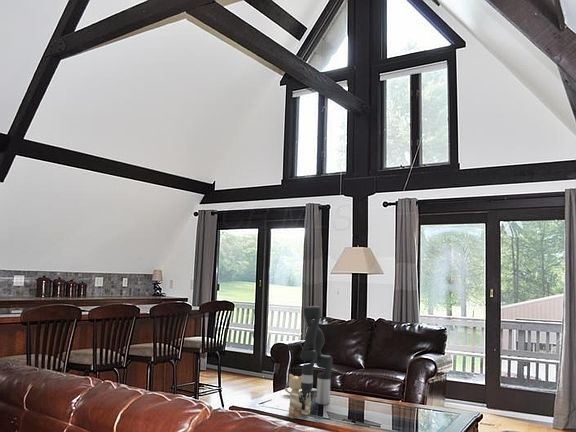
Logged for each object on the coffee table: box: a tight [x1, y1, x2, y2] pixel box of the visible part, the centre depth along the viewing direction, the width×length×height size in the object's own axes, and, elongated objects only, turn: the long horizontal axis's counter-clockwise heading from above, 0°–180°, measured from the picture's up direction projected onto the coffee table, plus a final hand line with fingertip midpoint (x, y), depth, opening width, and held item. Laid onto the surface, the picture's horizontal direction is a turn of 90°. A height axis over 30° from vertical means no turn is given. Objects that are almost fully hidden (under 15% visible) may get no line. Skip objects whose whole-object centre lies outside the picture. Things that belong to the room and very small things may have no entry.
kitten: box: [284, 373, 302, 395], centre depth 383 cm, size 15×10×15 cm
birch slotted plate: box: [289, 393, 312, 416], centre depth 330 cm, size 4×14×10 cm, turn 50°
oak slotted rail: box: [287, 403, 312, 419], centre depth 329 cm, size 18×4×6 cm, turn 141°
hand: (305, 409), depth 327 cm, fingers closed on birch slotted plate, 3 cm apart
